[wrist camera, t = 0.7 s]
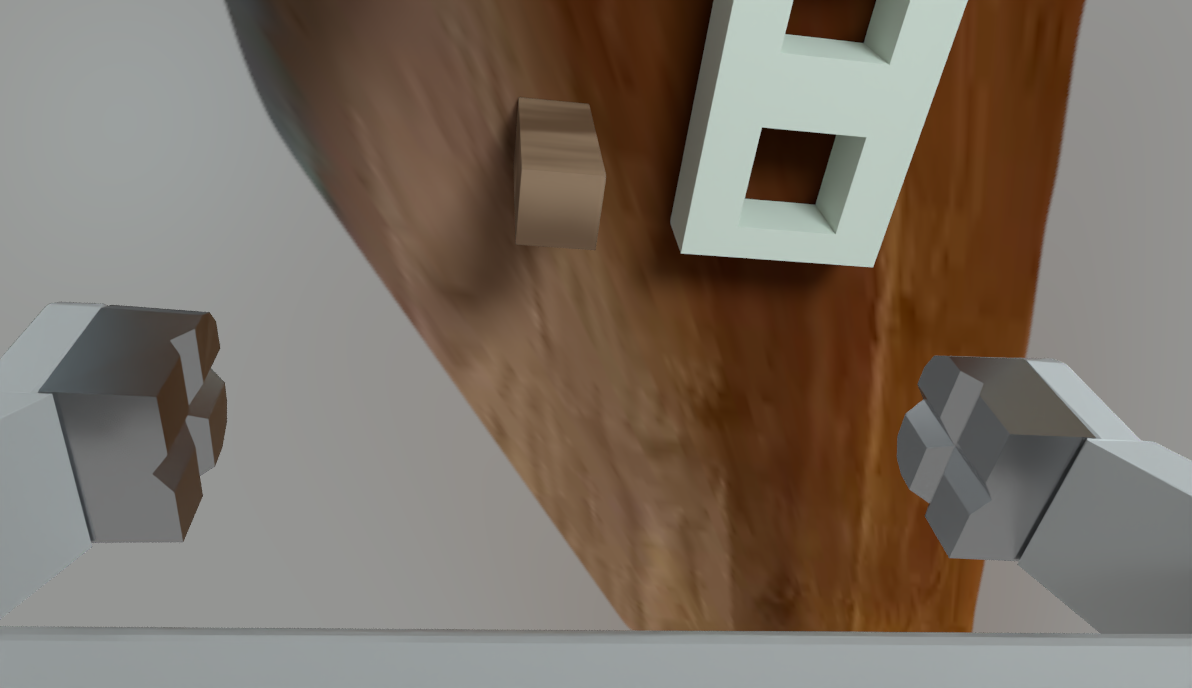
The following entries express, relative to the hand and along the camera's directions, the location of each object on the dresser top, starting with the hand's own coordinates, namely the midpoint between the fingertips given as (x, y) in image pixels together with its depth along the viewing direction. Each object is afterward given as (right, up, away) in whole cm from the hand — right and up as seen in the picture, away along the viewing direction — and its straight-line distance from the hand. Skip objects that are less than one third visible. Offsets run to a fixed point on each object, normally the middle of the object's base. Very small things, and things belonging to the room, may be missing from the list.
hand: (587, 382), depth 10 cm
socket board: (+12, +16, +39) cm, 44 cm away
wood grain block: (-3, +13, +40) cm, 42 cm away
